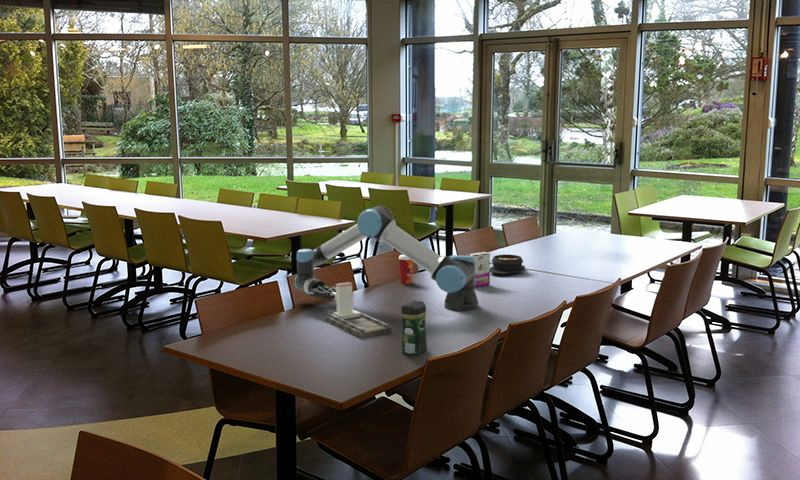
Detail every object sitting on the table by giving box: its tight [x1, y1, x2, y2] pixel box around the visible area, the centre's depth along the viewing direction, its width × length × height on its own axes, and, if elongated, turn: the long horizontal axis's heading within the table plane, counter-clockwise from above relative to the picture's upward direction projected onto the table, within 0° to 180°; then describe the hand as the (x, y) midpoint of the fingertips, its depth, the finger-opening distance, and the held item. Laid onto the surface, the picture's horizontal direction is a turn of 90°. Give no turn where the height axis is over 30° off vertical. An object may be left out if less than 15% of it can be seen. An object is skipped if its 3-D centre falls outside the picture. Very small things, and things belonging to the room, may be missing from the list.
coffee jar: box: [400, 300, 428, 355], centre depth 285 cm, size 10×8×19 cm
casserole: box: [490, 254, 526, 275], centre depth 417 cm, size 25×19×8 cm
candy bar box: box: [465, 251, 491, 288], centre depth 386 cm, size 11×5×16 cm, turn 118°
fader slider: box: [333, 281, 362, 319], centre depth 325 cm, size 7×9×14 cm
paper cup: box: [398, 254, 414, 285], centre depth 395 cm, size 8×8×14 cm
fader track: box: [325, 308, 393, 339], centre depth 319 cm, size 30×14×3 cm, turn 32°
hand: (339, 298), depth 330 cm, fingers closed
